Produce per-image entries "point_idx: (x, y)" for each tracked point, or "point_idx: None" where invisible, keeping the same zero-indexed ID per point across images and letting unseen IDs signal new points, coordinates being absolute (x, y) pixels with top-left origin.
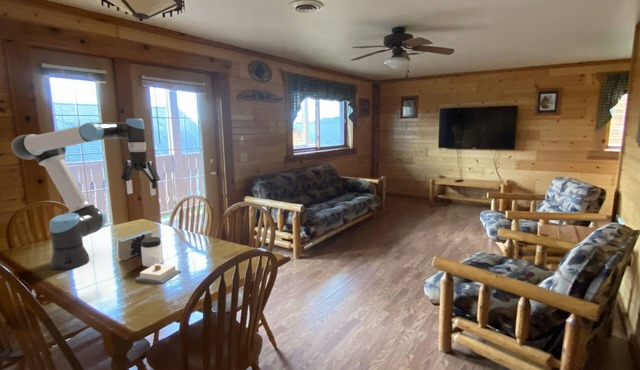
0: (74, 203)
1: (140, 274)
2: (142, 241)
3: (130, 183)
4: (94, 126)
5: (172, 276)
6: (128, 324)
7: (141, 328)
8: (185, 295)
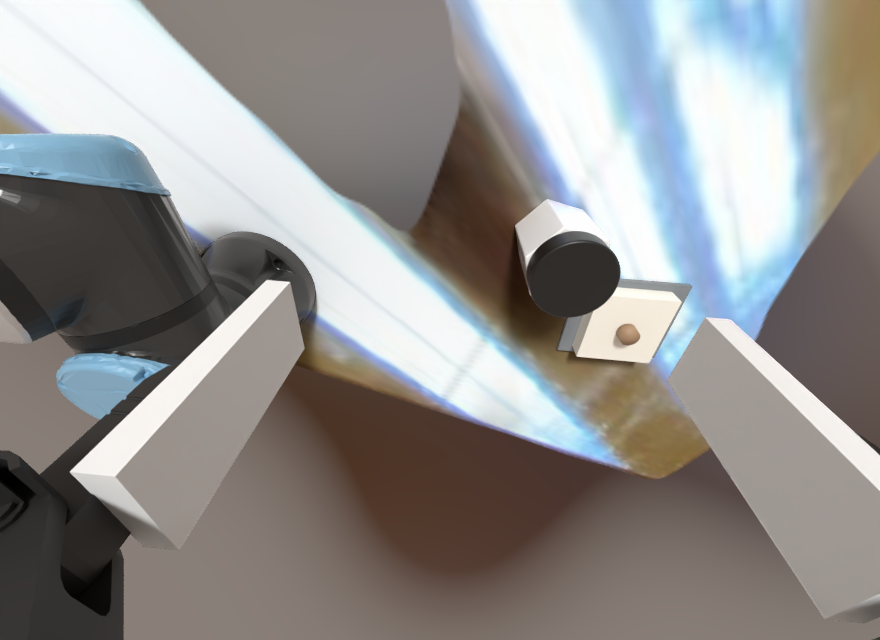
0: None
1: (576, 353)
2: (545, 310)
3: (194, 434)
4: None
5: (671, 324)
6: (638, 469)
7: (667, 475)
8: None
